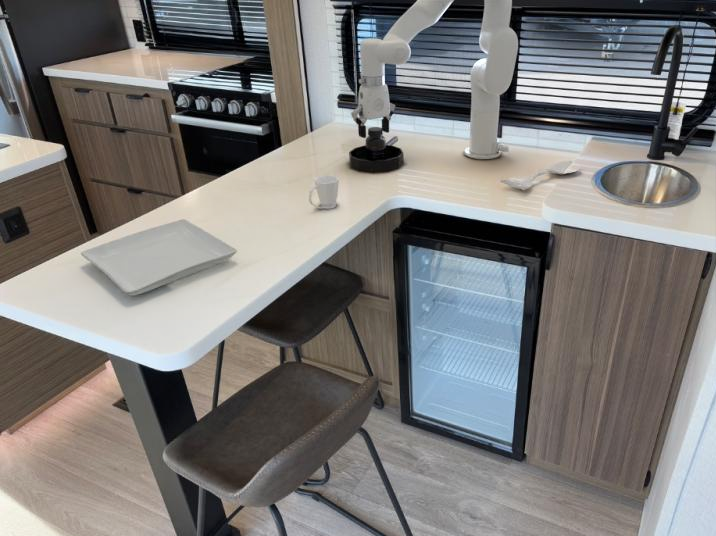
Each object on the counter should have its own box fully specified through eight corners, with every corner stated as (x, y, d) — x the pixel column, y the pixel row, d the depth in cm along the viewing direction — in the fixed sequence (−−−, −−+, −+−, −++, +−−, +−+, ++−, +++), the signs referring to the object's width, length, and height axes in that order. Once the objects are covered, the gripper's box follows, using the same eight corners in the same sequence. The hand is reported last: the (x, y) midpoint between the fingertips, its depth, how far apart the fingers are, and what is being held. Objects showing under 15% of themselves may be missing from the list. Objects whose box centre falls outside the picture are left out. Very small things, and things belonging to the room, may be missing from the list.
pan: (418, 150, 218) (418, 138, 216) (391, 175, 196) (391, 162, 194) (373, 145, 223) (372, 134, 221) (341, 169, 201) (340, 157, 199)
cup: (345, 205, 175) (343, 179, 170) (318, 215, 169) (315, 188, 164) (330, 199, 179) (328, 173, 175) (303, 209, 173) (300, 182, 169)
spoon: (498, 189, 184) (499, 178, 182) (563, 165, 201) (564, 155, 199) (521, 197, 178) (522, 186, 176) (586, 172, 195) (587, 162, 193)
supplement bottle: (364, 161, 208) (362, 127, 201) (383, 159, 209) (382, 125, 203) (369, 168, 202) (367, 132, 196) (388, 165, 204) (388, 130, 197)
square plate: (82, 265, 146) (78, 250, 144) (187, 230, 162) (184, 216, 160) (130, 306, 129) (125, 290, 127) (241, 262, 145) (238, 248, 143)
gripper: (358, 86, 184) (360, 141, 193) (401, 79, 194) (401, 132, 203) (343, 82, 189) (346, 136, 198) (386, 75, 199) (387, 127, 208)
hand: (374, 134), depth 200 cm, fingers open, 9 cm apart
